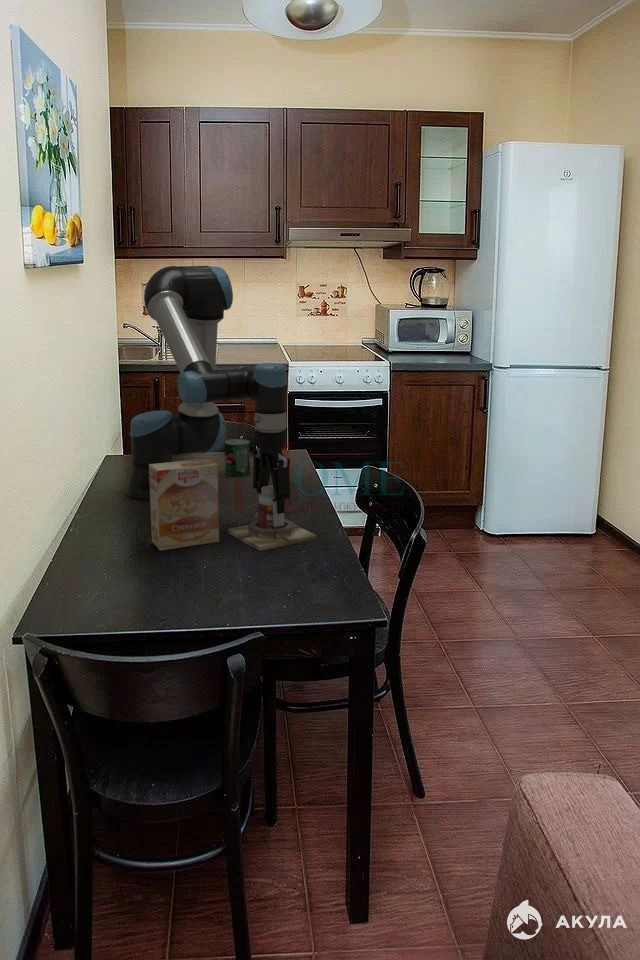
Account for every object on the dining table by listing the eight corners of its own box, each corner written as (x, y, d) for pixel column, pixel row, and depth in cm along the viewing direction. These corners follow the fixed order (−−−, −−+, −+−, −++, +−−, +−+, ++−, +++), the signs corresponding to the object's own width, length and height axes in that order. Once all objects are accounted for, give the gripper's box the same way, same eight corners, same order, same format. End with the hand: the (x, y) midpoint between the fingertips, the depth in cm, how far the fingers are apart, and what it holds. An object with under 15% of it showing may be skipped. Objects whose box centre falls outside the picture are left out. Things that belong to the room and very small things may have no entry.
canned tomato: (255, 474, 267) (254, 440, 264) (240, 480, 260) (239, 445, 257) (235, 471, 271) (234, 437, 268) (219, 476, 264) (219, 442, 261)
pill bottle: (266, 536, 204) (266, 492, 201) (253, 530, 209) (253, 486, 206) (288, 532, 207) (288, 488, 204) (275, 525, 212) (275, 483, 209)
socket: (227, 532, 210) (227, 521, 210) (282, 522, 219) (282, 511, 218) (259, 551, 197) (259, 538, 197) (316, 539, 206) (316, 527, 205)
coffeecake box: (160, 551, 197) (156, 470, 192) (151, 542, 203) (147, 463, 198) (220, 542, 204) (218, 463, 199) (210, 533, 210) (208, 457, 205)
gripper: (237, 424, 207) (239, 514, 213) (278, 438, 192) (278, 535, 198) (263, 421, 211) (264, 510, 217) (305, 434, 196) (305, 529, 202)
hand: (271, 521), depth 207 cm, fingers closed on pill bottle, 6 cm apart
